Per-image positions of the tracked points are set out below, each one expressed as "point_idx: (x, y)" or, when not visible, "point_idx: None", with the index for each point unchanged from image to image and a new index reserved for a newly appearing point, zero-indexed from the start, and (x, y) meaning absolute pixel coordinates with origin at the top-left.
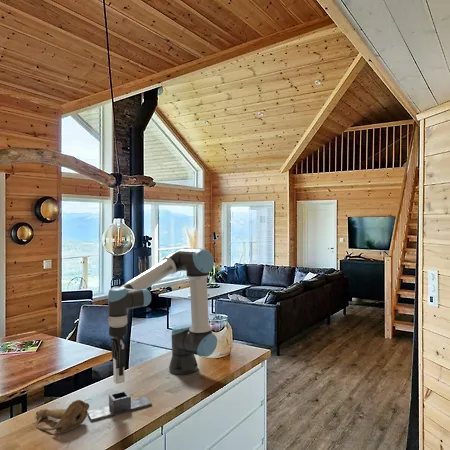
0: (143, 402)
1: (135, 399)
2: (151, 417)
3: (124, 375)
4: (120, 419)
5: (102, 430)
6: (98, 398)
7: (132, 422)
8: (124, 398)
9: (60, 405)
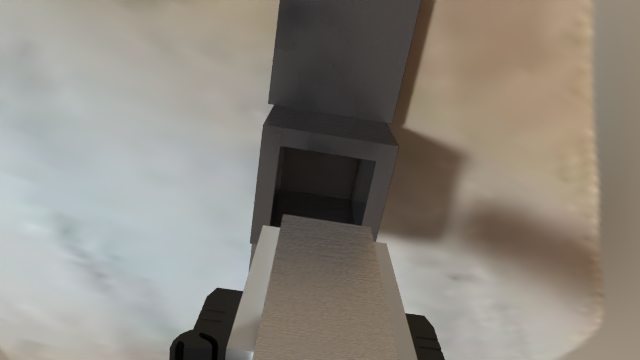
0: (368, 11)
1: (282, 32)
2: (559, 66)
3: (377, 266)
4: (431, 208)
5: (461, 308)
6: (87, 189)
7: (513, 178)
8: (386, 190)
9: (72, 350)
